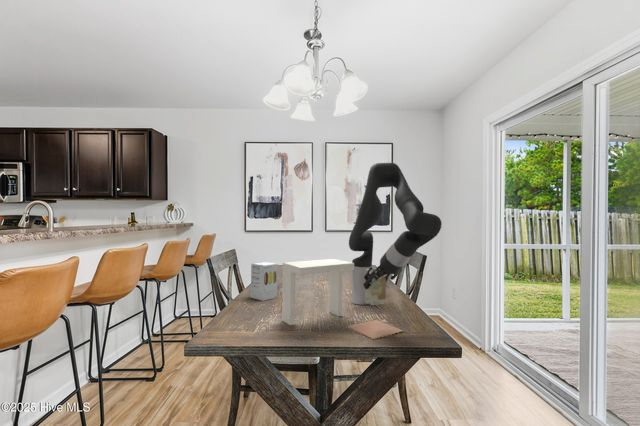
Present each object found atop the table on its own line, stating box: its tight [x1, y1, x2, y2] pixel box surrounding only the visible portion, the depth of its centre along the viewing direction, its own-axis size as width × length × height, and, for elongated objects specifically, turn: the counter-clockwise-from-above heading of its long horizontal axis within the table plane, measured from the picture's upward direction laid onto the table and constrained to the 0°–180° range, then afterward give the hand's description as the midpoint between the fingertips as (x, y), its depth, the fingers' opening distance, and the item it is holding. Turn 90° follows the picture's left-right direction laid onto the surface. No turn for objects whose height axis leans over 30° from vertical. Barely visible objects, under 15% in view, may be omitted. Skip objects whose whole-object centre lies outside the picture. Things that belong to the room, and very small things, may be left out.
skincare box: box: [365, 269, 387, 306], centre depth 125 cm, size 6×4×12 cm
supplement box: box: [250, 261, 278, 302], centre depth 170 cm, size 10×9×17 cm
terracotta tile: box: [347, 319, 404, 340], centre depth 125 cm, size 14×14×1 cm
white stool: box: [281, 258, 354, 326], centre depth 135 cm, size 24×14×22 cm, turn 123°
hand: (372, 286), depth 126 cm, fingers closed on skincare box, 6 cm apart
